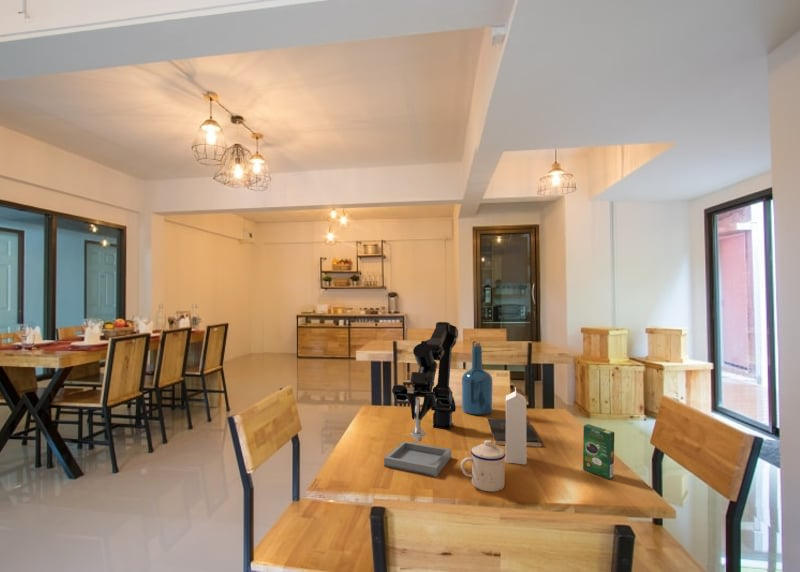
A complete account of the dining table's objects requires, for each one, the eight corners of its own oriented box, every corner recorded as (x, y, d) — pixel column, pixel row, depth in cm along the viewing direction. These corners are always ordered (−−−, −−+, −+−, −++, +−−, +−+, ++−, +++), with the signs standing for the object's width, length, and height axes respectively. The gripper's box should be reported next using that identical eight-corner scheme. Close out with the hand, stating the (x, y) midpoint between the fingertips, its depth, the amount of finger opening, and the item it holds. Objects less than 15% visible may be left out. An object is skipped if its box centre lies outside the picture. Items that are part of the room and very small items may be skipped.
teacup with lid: (498, 475, 111) (498, 434, 111) (510, 492, 102) (510, 447, 102) (457, 477, 110) (457, 435, 110) (465, 494, 101) (465, 448, 101)
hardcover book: (494, 446, 134) (494, 439, 134) (487, 423, 156) (487, 418, 156) (542, 448, 132) (542, 441, 132) (528, 425, 154) (528, 419, 155)
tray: (451, 457, 123) (451, 449, 123) (436, 477, 110) (436, 468, 110) (403, 448, 130) (403, 441, 130) (384, 466, 116) (384, 457, 116)
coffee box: (615, 478, 110) (615, 431, 110) (610, 480, 108) (610, 433, 108) (587, 467, 116) (587, 423, 116) (582, 470, 115) (582, 425, 115)
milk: (506, 462, 119) (505, 390, 120) (505, 454, 125) (505, 385, 125) (527, 464, 118) (526, 391, 118) (525, 456, 124) (524, 386, 124)
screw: (422, 443, 117) (407, 441, 119) (427, 438, 121) (413, 435, 123) (422, 400, 117) (407, 398, 119) (427, 396, 121) (413, 394, 123)
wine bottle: (461, 406, 178) (461, 340, 179) (490, 407, 177) (490, 341, 178) (462, 415, 165) (462, 344, 165) (494, 417, 163) (494, 345, 164)
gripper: (393, 359, 127) (380, 402, 117) (450, 363, 121) (441, 409, 110) (401, 378, 135) (390, 420, 124) (455, 382, 128) (448, 427, 118)
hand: (416, 419), depth 119 cm, fingers closed on screw, 2 cm apart
